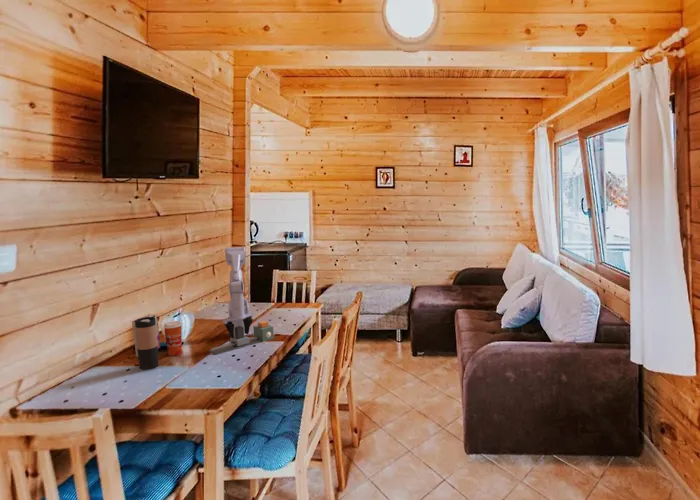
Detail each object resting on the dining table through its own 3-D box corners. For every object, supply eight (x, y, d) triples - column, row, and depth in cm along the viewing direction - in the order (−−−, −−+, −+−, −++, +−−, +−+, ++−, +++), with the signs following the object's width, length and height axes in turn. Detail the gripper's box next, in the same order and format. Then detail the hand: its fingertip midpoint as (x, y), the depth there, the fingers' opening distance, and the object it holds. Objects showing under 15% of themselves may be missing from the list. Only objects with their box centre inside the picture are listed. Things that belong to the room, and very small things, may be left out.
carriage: (230, 342, 201) (229, 327, 200) (241, 339, 205) (240, 324, 204) (238, 346, 196) (237, 330, 195) (249, 342, 200) (248, 327, 199)
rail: (208, 351, 193) (208, 347, 193) (253, 339, 209) (253, 335, 209) (215, 354, 189) (214, 350, 189) (260, 341, 205) (260, 337, 205)
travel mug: (143, 364, 181) (139, 317, 178) (162, 362, 181) (158, 316, 179) (135, 371, 173) (131, 322, 171) (155, 369, 174) (151, 321, 171)
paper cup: (166, 357, 187) (163, 326, 186) (164, 352, 194) (162, 322, 193) (185, 354, 191) (183, 323, 189) (183, 349, 198) (181, 319, 196)
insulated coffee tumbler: (151, 348, 200) (148, 314, 198) (161, 349, 199) (158, 314, 197) (134, 357, 189) (131, 321, 187) (144, 357, 188) (141, 321, 186)
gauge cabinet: (254, 338, 210) (253, 326, 210) (264, 335, 215) (263, 323, 214) (263, 341, 205) (262, 329, 204) (274, 338, 209) (273, 326, 208)
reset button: (258, 329, 209) (257, 322, 209) (264, 327, 212) (264, 320, 211) (262, 330, 207) (261, 323, 206) (268, 329, 209) (268, 322, 209)
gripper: (227, 311, 191) (229, 341, 192) (256, 305, 201) (257, 333, 202) (219, 309, 196) (221, 338, 197) (247, 303, 206) (249, 330, 207)
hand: (239, 335), depth 200 cm, fingers open, 7 cm apart
